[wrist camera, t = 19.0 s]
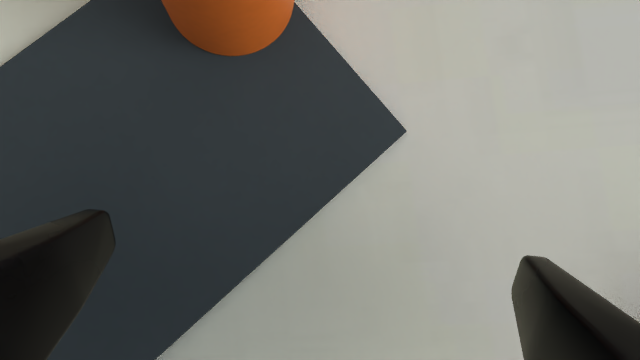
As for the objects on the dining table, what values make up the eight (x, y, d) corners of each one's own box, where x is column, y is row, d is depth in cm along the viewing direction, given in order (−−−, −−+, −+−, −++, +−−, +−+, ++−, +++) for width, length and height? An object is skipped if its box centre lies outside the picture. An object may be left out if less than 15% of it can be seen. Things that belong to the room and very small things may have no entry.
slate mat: (72, 433, 18) (67, 438, 17) (-157, 188, 17) (-167, 188, 17) (404, 132, 20) (407, 130, 20) (214, -85, 20) (213, -91, 20)
